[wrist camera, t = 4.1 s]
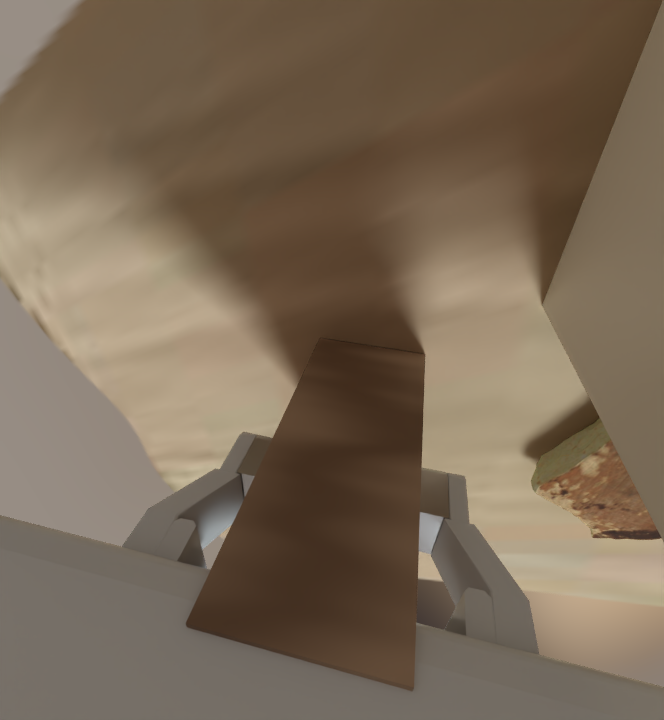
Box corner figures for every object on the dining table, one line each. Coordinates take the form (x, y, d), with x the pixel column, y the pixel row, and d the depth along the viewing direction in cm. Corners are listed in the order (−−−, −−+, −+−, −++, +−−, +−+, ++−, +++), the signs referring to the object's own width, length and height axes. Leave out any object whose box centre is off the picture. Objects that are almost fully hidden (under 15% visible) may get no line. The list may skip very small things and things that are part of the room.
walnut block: (425, 354, 14) (413, 687, 6) (407, 431, 17) (383, 749, 9) (320, 337, 15) (185, 623, 7) (317, 414, 17) (213, 696, 9)
